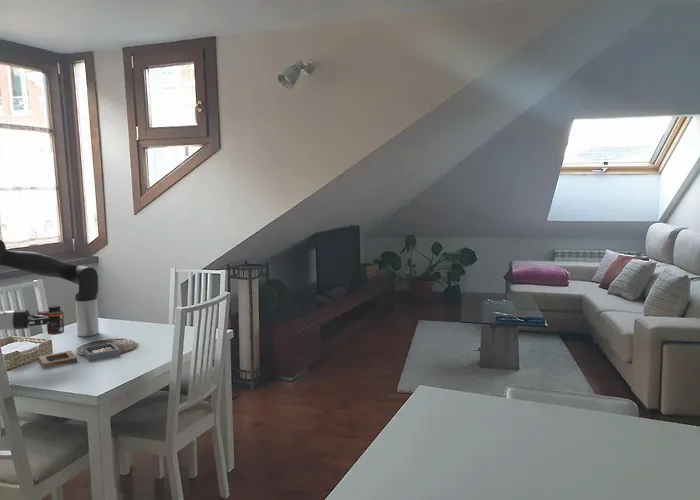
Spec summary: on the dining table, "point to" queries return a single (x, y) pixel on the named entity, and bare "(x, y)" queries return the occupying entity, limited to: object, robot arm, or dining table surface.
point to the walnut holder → (47, 364)
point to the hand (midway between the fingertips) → (61, 316)
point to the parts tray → (100, 355)
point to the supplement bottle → (55, 327)
